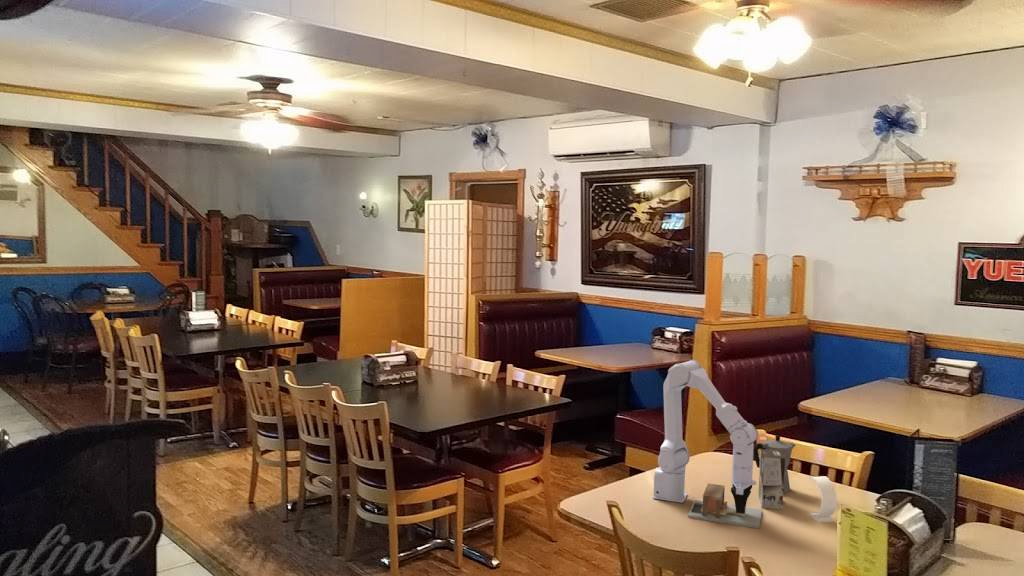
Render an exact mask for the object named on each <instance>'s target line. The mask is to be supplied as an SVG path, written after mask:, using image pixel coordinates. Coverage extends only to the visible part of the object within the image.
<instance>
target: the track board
mask: <svg viewBox="0 0 1024 576" xmlns="http://www.w3.org/2000/svg"><path fill="white" fill-rule="evenodd" d="M702 504H703V500H698V499H694V500H693V503H692V504H691V507H690V509H689V512H688V514H687V518H689V519H690V518H691V519H696V520H703V521H708V522H714V523H715V522H716V523H723V524H728V525H735V526H741V527H748V528H753V529H760V525H761V524H760V523H761V519H762V513H763V509H760V508H752V507H747V506H746V507H745V516H741V515H735V514H728V513H726V515H720V518H716V514H713V513H707V516H702V512H701V508H702ZM727 506H728V509H735V510H736V507H735V505H733V504H727Z"/></svg>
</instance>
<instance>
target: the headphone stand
mask: <svg viewBox="0 0 1024 576" xmlns="http://www.w3.org/2000/svg"><path fill="white" fill-rule="evenodd" d="M811 481H813V483H815V484H816V486H817V488H818V491H819V494H820V498H821V502H820V509H819V510H818V512H813V513H812V512H811V513H809V517H810V518H812V519H813V520H814V521H817V522H818V523H820V524H821V523H833V522H835V519H834V518H833V517H832V516H833V515H834V514H835V512H836V510H837V506H838V496H837V492H836V489H835V487H834V486H835V485H834V484H833V483H832V481H831V480H830V478H829V477H828V476H826V475H825V476H824V475H823V476H822V475H820V476H812V477H811Z"/></svg>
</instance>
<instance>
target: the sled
mask: <svg viewBox="0 0 1024 576" xmlns="http://www.w3.org/2000/svg"><path fill="white" fill-rule="evenodd" d="M727 505H728V501H725V500H724V505H723V506H722V509H721V511H720V515H726V513H728V514H735V515H741V516H745V511H744V513H740V512H737V511H736V510H735V509H728V506H727ZM702 511H703V504H702V508H701V512H702ZM707 513H713V514H716V511H715V510H708V509H707Z"/></svg>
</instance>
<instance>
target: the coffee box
mask: <svg viewBox="0 0 1024 576" xmlns="http://www.w3.org/2000/svg"><path fill="white" fill-rule="evenodd" d="M759 451H760V452H759V459H760V467H759V468H758V469H759V471H758V472H759V473H758V494H757V495H758V496H757V497H758V500H759V504H760V506H761V508H763V509H773V510H783V506H784V505H783V504H784V493H783V489H784V471H785V457H784V455H783V454H782V452H781V450H771V449H767V450H766V449H759Z"/></svg>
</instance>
